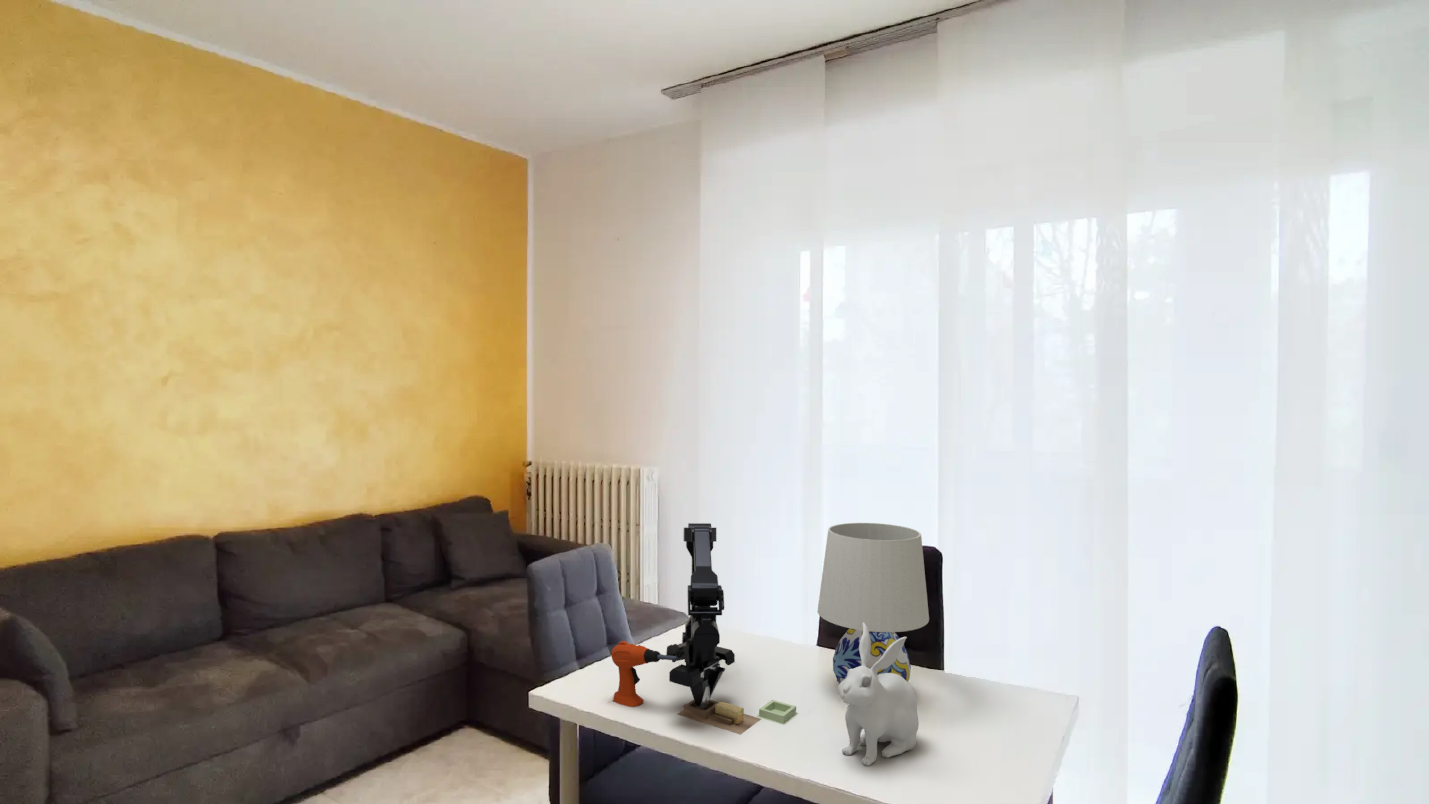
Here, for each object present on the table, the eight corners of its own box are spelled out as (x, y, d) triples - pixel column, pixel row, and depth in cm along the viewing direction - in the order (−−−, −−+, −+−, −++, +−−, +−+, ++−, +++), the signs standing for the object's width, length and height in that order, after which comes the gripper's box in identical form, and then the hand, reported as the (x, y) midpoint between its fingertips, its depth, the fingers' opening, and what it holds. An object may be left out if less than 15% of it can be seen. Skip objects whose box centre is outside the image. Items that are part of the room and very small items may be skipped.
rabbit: (821, 753, 150) (823, 633, 150) (885, 726, 163) (888, 615, 163) (864, 777, 141) (866, 649, 141) (929, 747, 154) (932, 629, 153)
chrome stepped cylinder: (700, 707, 170) (700, 675, 170) (711, 710, 168) (712, 678, 168) (692, 712, 167) (693, 679, 167) (704, 715, 166) (704, 682, 165)
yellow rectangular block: (720, 713, 166) (721, 701, 166) (743, 720, 163) (743, 708, 163) (715, 717, 164) (715, 705, 164) (737, 724, 161) (738, 712, 161)
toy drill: (675, 716, 163) (669, 648, 164) (609, 707, 172) (603, 643, 173) (687, 708, 167) (681, 642, 168) (621, 700, 177) (616, 637, 177)
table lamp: (888, 665, 199) (891, 519, 199) (950, 707, 174) (954, 539, 173) (798, 676, 191) (800, 523, 190) (848, 721, 165) (852, 545, 164)
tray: (771, 708, 171) (771, 698, 171) (798, 715, 168) (798, 706, 168) (756, 719, 166) (756, 709, 166) (784, 727, 162) (784, 717, 162)
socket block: (699, 702, 174) (699, 693, 174) (761, 721, 164) (761, 711, 164) (676, 716, 166) (676, 707, 166) (740, 737, 157) (740, 727, 157)
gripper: (697, 618, 180) (696, 681, 180) (650, 639, 164) (649, 708, 164) (736, 626, 174) (735, 692, 174) (691, 649, 158) (690, 721, 158)
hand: (702, 702), depth 168 cm, fingers closed on chrome stepped cylinder, 3 cm apart
